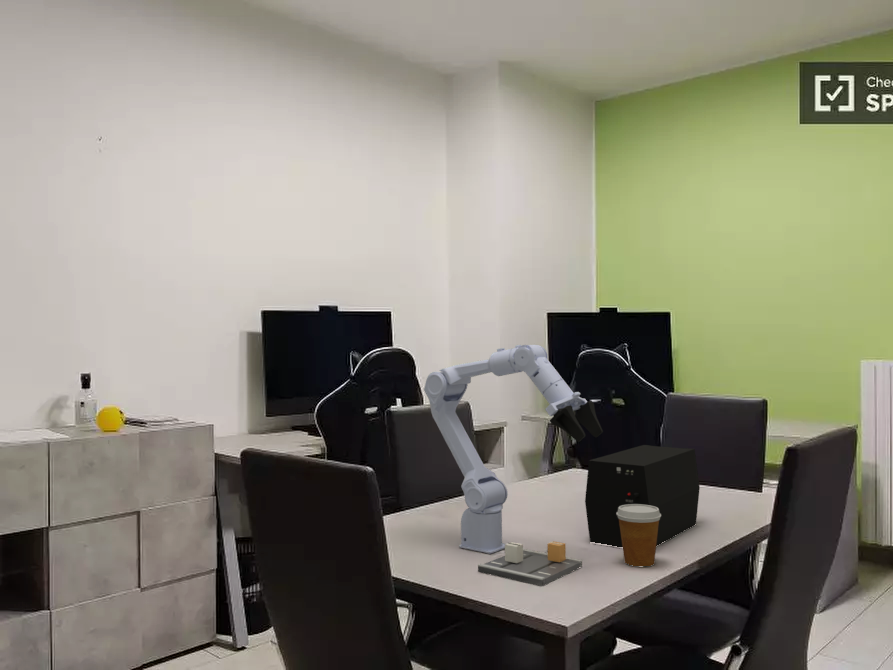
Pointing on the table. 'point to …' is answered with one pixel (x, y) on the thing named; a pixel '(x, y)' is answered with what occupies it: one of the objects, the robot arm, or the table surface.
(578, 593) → the table surface
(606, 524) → the uninterruptible power supply
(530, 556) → the fader board
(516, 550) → the fader
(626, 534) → the disposable coffee cup
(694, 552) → the table surface
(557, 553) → the block
